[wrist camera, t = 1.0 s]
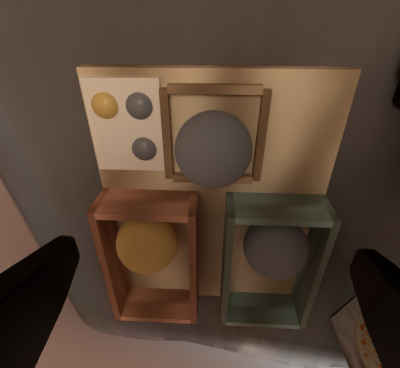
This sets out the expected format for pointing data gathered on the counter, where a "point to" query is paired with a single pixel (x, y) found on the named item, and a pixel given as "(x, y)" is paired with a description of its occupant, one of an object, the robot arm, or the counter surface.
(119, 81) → the card
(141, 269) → the ochre ball
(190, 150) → the slate ball
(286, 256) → the slate ball
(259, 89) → the wooden sorting board
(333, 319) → the coffee box
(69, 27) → the counter surface
